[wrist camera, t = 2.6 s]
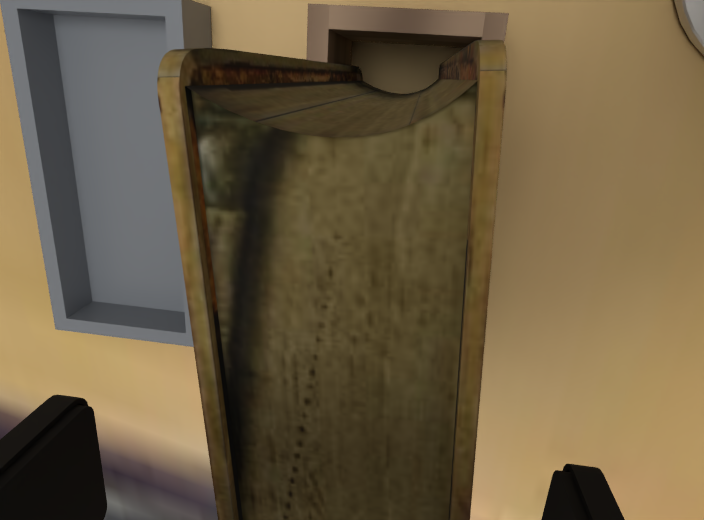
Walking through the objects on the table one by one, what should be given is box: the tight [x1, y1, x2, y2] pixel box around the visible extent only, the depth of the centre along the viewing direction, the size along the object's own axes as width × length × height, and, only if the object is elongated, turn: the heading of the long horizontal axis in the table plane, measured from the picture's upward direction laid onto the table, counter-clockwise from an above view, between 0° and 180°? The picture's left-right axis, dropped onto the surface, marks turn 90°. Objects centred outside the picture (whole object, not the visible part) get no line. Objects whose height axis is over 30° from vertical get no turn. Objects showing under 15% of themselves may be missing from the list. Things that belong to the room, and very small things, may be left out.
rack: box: [307, 4, 509, 66], centre depth 30 cm, size 9×21×8 cm, turn 176°
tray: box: [0, 0, 212, 347], centre depth 33 cm, size 11×22×4 cm, turn 176°
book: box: [157, 40, 507, 520], centre depth 22 cm, size 16×6×25 cm, turn 1°
